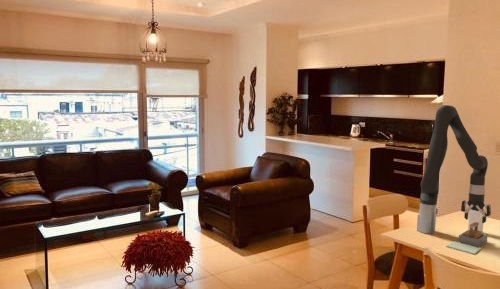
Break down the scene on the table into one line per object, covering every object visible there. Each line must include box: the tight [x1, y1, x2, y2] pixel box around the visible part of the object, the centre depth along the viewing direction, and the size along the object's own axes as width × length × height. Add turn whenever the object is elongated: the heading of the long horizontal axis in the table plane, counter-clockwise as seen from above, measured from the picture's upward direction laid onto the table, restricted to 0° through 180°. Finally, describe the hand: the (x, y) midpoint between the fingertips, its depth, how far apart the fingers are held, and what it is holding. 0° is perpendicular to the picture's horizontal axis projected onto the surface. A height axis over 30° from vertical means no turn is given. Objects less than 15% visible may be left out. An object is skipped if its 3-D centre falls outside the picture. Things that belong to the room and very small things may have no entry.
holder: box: [458, 229, 488, 248], centre depth 227 cm, size 10×12×4 cm
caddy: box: [464, 222, 483, 239], centre depth 227 cm, size 6×8×11 cm
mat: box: [445, 240, 482, 255], centre depth 219 cm, size 14×10×1 cm
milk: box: [467, 200, 486, 234], centre depth 242 cm, size 6×6×22 cm
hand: (475, 221), depth 226 cm, fingers open, 8 cm apart
